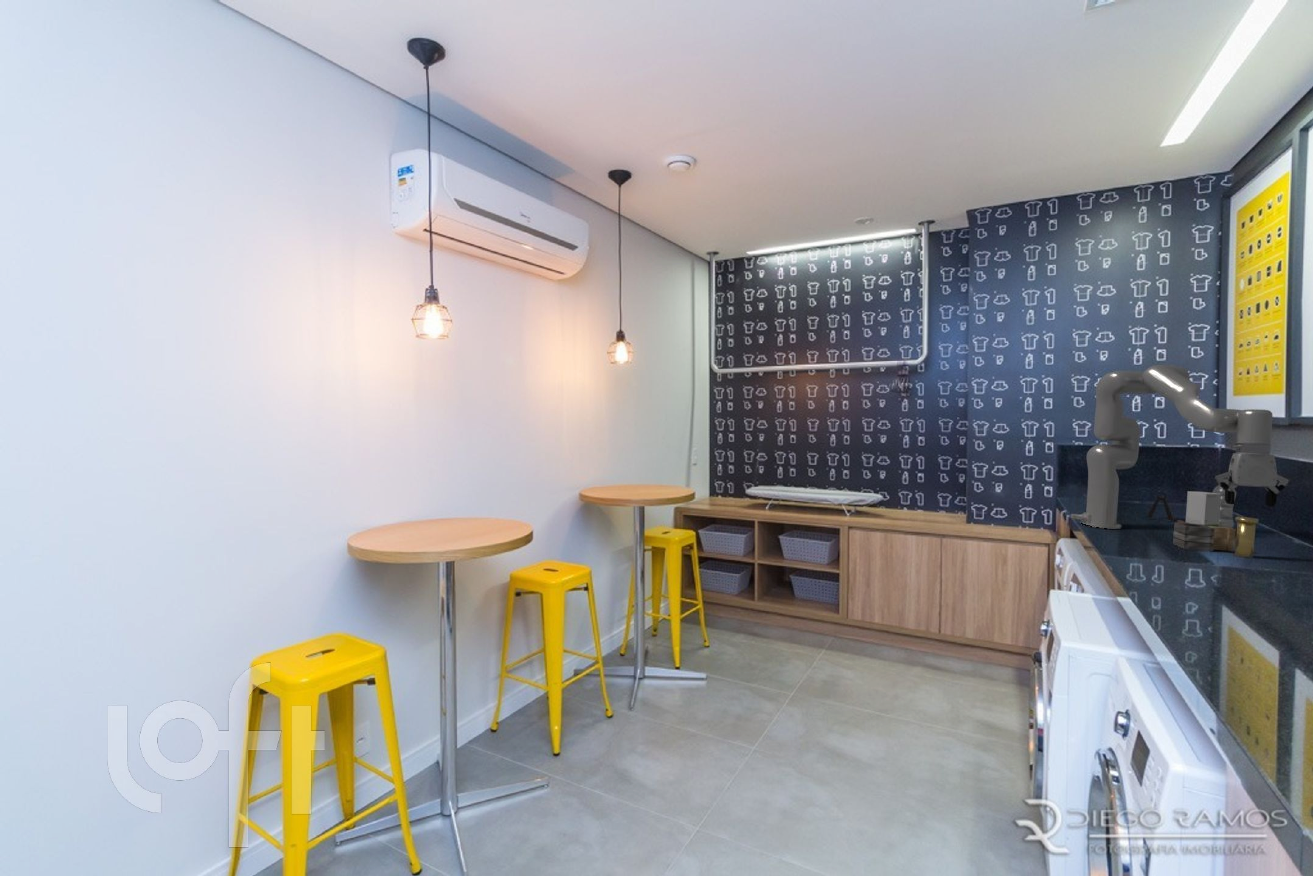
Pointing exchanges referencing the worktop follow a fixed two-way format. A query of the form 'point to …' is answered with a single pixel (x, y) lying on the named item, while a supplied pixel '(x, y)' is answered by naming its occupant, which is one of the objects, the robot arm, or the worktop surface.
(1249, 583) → the worktop surface
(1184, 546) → the slatted wooden box
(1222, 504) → the plastic bottle
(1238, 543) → the brass hinge pin
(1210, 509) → the skincare box
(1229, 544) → the wooden crate
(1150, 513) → the black a-shaped stand
